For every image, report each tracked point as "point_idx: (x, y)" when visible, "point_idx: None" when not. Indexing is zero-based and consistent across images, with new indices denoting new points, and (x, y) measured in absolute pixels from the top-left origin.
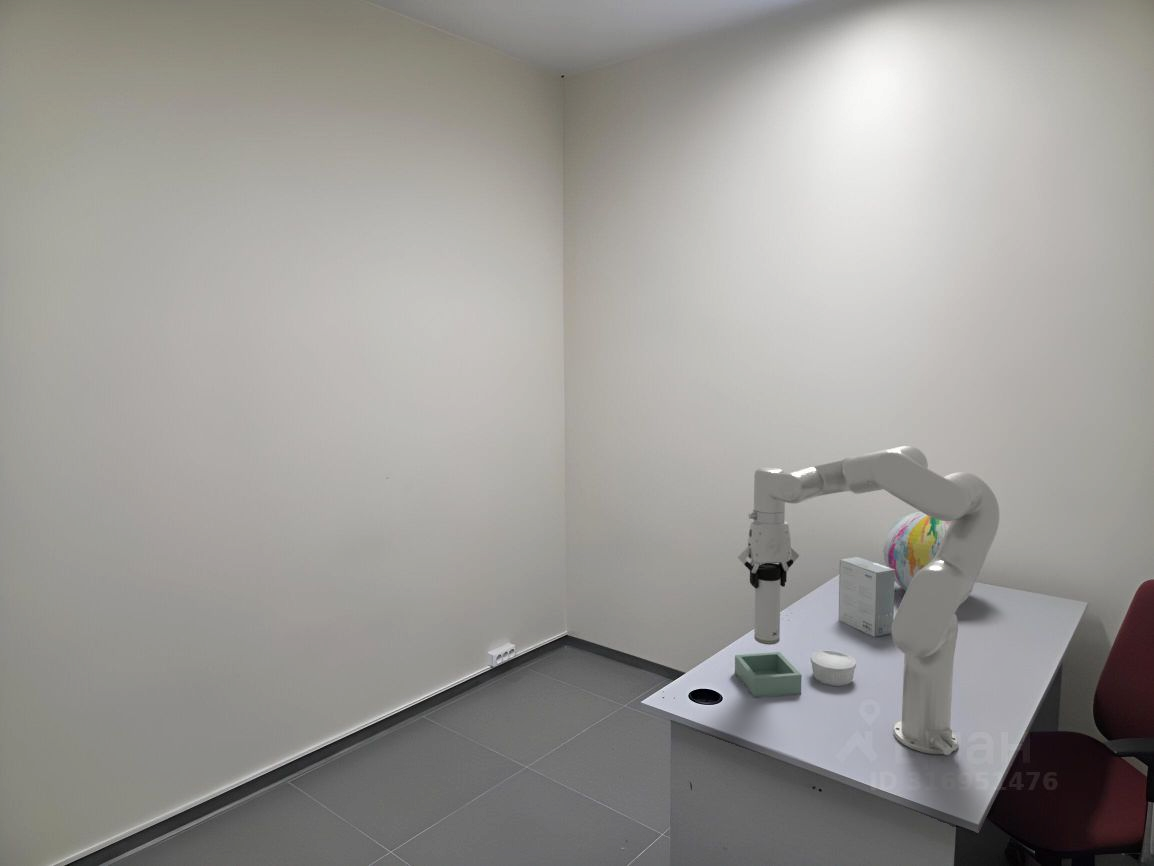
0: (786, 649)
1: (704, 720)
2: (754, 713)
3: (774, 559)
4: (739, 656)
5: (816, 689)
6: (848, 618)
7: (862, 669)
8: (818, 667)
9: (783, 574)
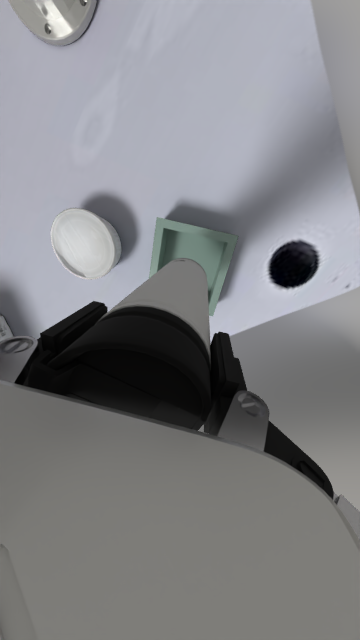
0: None
1: (351, 198)
2: (265, 189)
3: (44, 437)
4: (209, 310)
5: (136, 223)
6: None
7: (49, 250)
8: (114, 238)
9: (65, 327)
